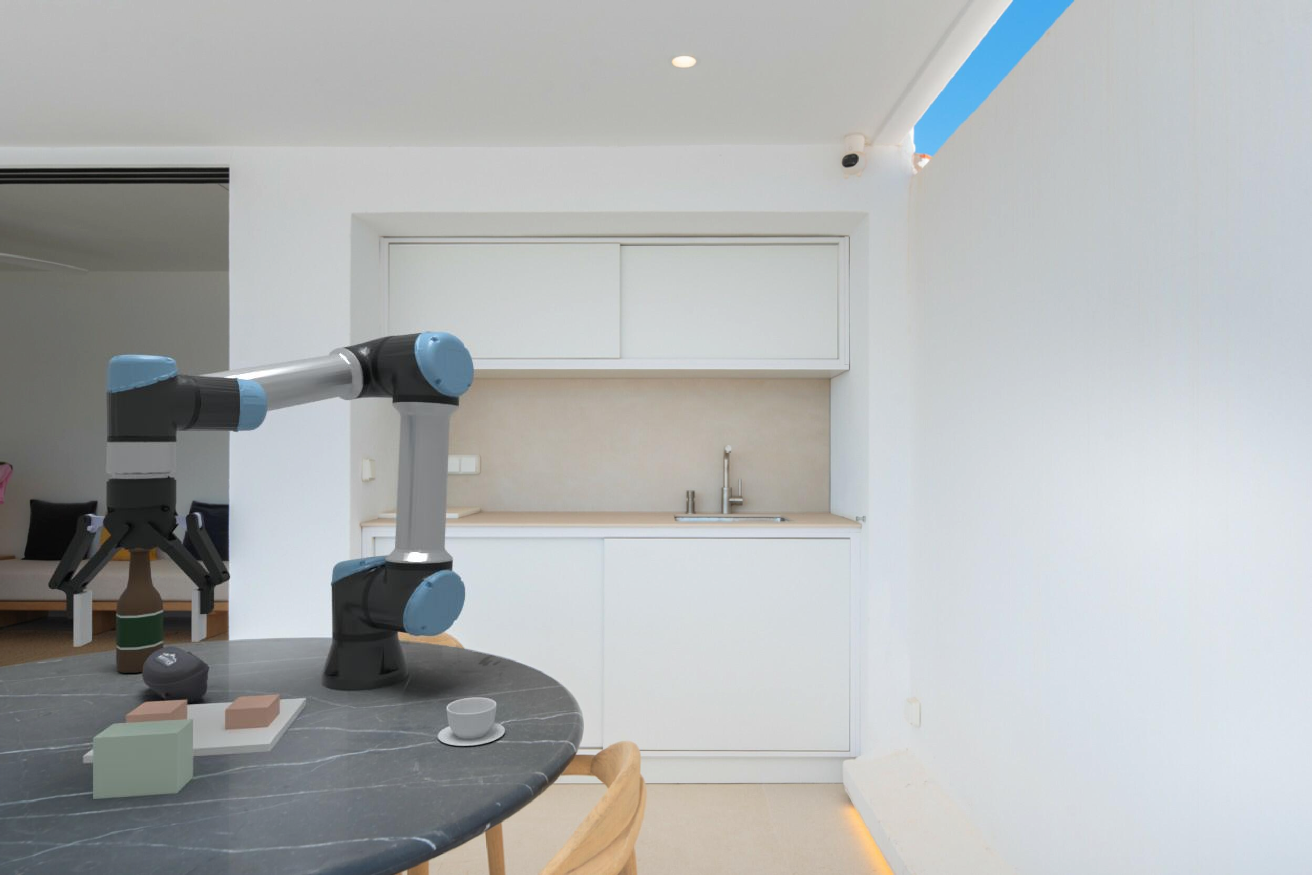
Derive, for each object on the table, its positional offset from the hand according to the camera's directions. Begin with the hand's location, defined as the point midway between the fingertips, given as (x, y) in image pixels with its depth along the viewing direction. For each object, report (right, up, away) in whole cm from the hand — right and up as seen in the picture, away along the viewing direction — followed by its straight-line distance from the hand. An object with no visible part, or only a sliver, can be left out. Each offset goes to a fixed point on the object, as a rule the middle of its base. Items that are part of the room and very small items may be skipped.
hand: (141, 641), depth 100 cm
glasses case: (-17, -19, +36) cm, 44 cm away
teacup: (+38, -19, +18) cm, 46 cm away
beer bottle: (-35, -19, +53) cm, 67 cm away
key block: (+1, -19, 0) cm, 19 cm away
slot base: (-3, -19, +20) cm, 27 cm away
